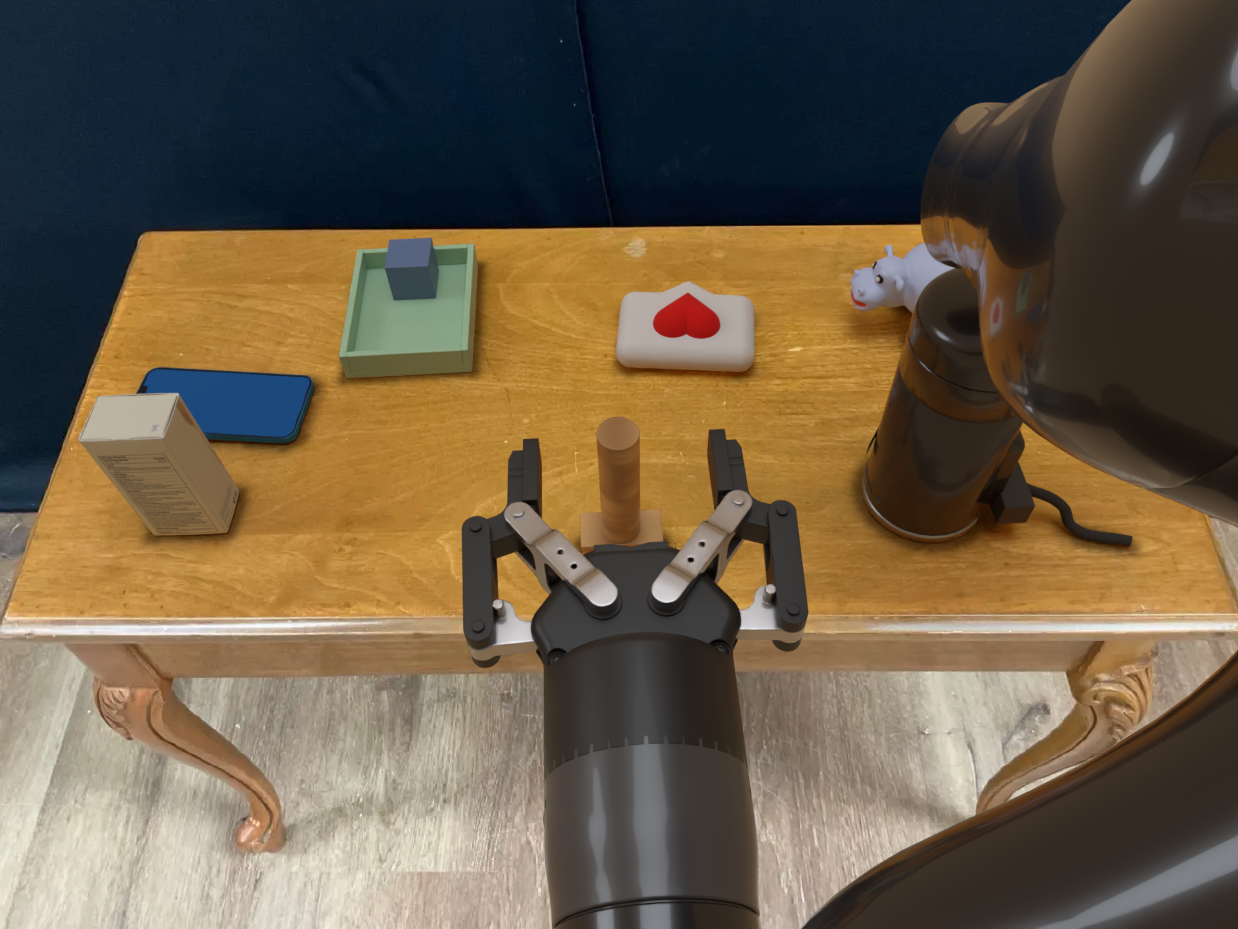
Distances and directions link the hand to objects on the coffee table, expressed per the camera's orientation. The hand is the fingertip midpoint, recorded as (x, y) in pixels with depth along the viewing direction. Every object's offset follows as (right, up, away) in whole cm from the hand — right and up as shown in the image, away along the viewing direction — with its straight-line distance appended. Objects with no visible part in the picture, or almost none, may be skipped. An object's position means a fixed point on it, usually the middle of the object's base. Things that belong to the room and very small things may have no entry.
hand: (623, 444), depth 45 cm
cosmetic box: (-34, -5, +33) cm, 48 cm away
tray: (-19, +13, +45) cm, 51 cm away
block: (-20, +16, +47) cm, 53 cm away
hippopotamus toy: (+28, +12, +44) cm, 53 cm away
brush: (0, -8, +29) cm, 30 cm away
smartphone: (-35, +4, +39) cm, 53 cm away
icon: (+6, +11, +43) cm, 45 cm away
